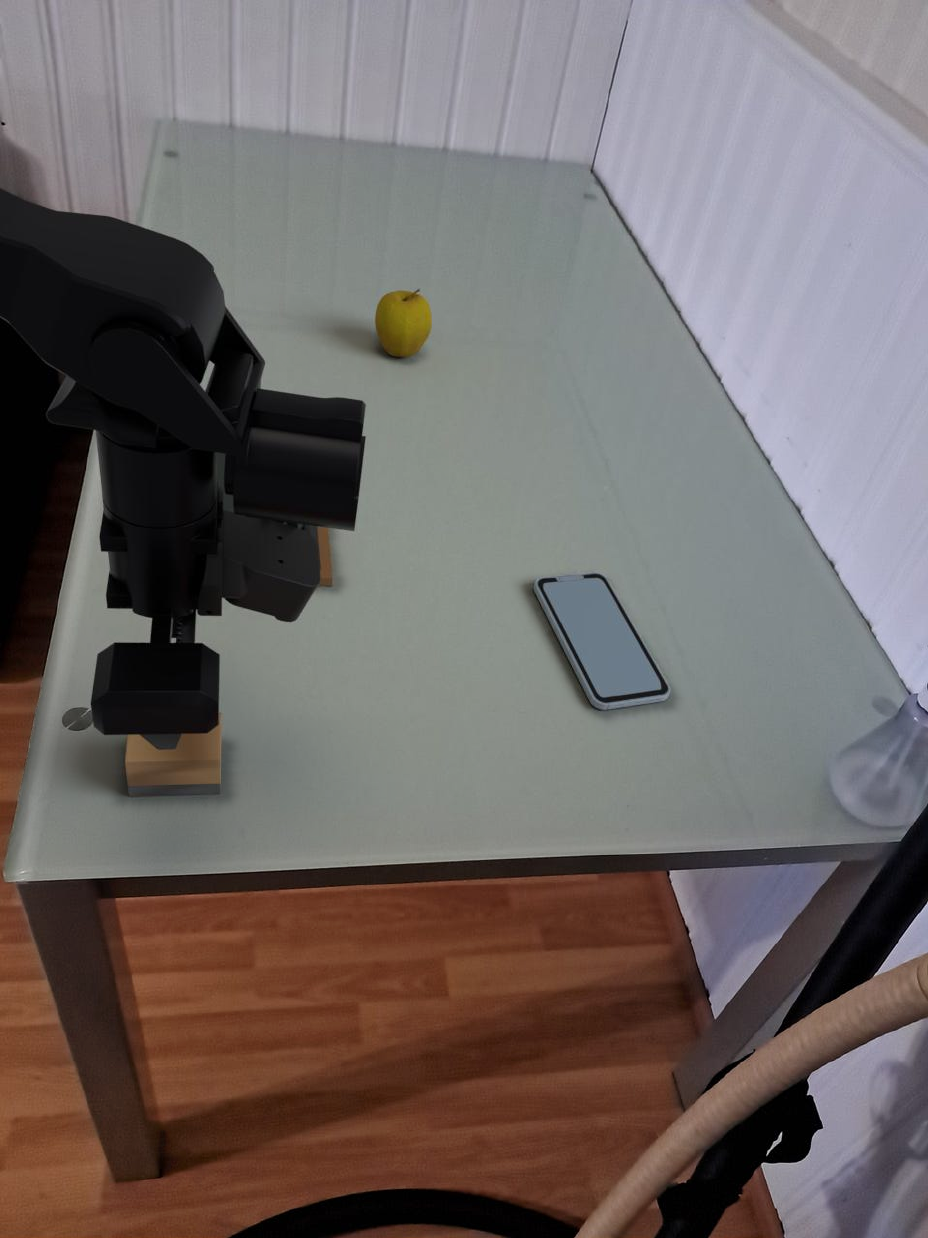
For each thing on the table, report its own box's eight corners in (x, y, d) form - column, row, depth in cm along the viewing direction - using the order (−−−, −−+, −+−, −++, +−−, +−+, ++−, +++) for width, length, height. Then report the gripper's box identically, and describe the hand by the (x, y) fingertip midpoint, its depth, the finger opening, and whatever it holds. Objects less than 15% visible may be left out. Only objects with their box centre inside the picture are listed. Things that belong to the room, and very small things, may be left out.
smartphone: (596, 706, 77) (531, 578, 86) (593, 713, 77) (529, 584, 87) (675, 694, 79) (603, 570, 89) (672, 701, 80) (601, 577, 89)
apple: (436, 354, 114) (447, 290, 108) (405, 373, 109) (414, 308, 104) (393, 332, 116) (401, 269, 110) (360, 350, 111) (368, 285, 106)
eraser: (128, 797, 65) (124, 761, 62) (133, 749, 67) (129, 713, 65) (220, 794, 66) (220, 759, 63) (221, 747, 69) (221, 712, 66)
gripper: (327, 623, 45) (306, 809, 56) (308, 403, 58) (294, 589, 69) (75, 620, 43) (104, 816, 54) (114, 390, 56) (130, 586, 66)
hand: (170, 689), depth 61 cm, fingers open, 9 cm apart
